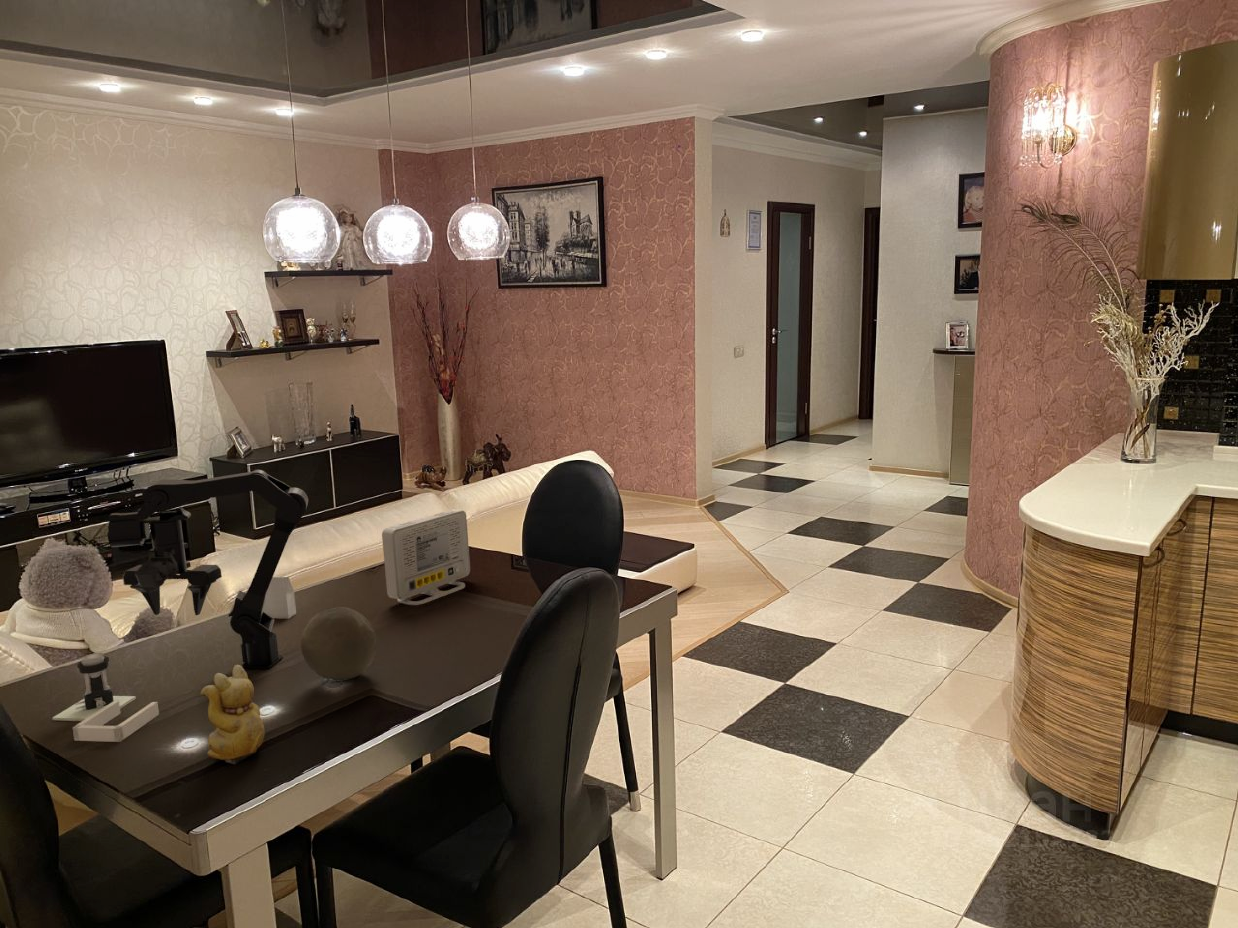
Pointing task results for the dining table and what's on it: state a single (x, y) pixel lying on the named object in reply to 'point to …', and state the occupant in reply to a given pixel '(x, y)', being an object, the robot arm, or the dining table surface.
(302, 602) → the dining table surface
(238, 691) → the decorative figurine
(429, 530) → the network device
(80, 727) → the white u-shaped bracket
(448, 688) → the dining table surface
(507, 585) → the dining table surface
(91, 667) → the push button
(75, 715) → the mat
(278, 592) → the white faceted block
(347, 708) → the dining table surface
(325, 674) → the cantaloupe
